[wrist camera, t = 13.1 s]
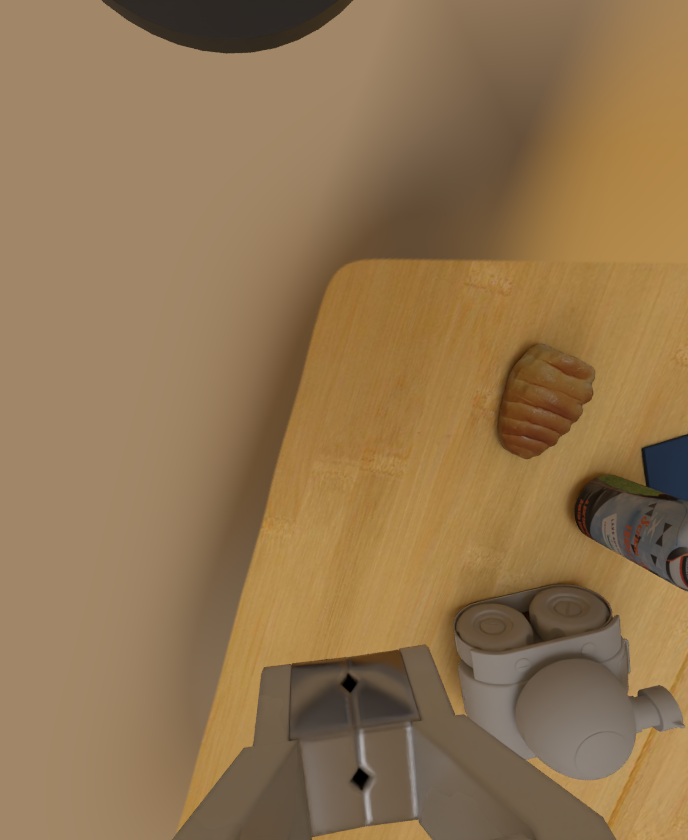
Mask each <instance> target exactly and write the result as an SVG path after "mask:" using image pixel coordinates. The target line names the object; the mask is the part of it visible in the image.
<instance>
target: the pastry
mask: <svg viewBox="0 0 688 840" xmlns="http://www.w3.org/2000/svg"><path fill="white" fill-rule="evenodd" d="M594 379H595V369H594V368H593V367H592V366H589V365H588V364H586V363H585V362H583V361H581V360H579V359H578V358H575V357H573V356H569V355H565V354H564V353H562V352H559V351H556V350H554V349H552V348H551V347H548V346H546V345H544V344H536V345H534V346H533V347H532V348H530V349H529V350H528V351H527V352H526V353H525V354H524V355H523V356H522V357H521V358H520V359H519V361H518V362H517V363H516V364H515V365H514V367H513V370H512V371H511V374H510V375H509V378H508V382H507V385H506V388H505V393H504V396H503V401H502V407H501V411H500V416H499V423H498V431H499V439H500V442H501V444H502V446H503V447H504V448H505V449H506V450H508V451H509V452H511V453H513V454H516V455H518V456H520V457H522V458H524V459H530V458H532V457H534V456H538V455H540V454H541V453H543V452H544V451H545V450H546V449H548V448H549V447H551V446H554V445H555V444H556V443H557V441H558V439H559V437H560V436H562V435H564V434H565V433H567V432H569V430H570V427H571V425H572V423H574V422H576V421H577V420H578V419H579V417H580V416H581V414H582V412H583V408H582V405H583V404H585V403H587V402H589V401H590V400H591V399H592V396H593V388H592V382H593V381H594Z"/></svg>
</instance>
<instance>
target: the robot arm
mask: <svg viewBox="0 0 688 840" xmlns="http://www.w3.org/2000/svg"><path fill="white" fill-rule="evenodd" d="M418 819H419V823H420V825H421V826H422V827H423V828H424V830H425V831H426V832H427V833H428V835H429V836H430V837H431V838H432V840H616V838H615V836H614V835H613V833H612V832H611V830H610V828H609V827H608V825H607V823H606V822H605V820H604V818H603V817H602V816H600V815H599V814H598V813H596V812H595V811H594V810H592V809H591V808H590V807H588V806H587V805H586V804H584V803H583V802H582V801H580V800H579V799H577V798H576V797H575V796H573V795H572V794H571V793H569V792H568V791H567V790H565V789H564V788H563V787H561V786H560V785H559V784H557V783H556V782H555V781H553V780H552V779H550V778H549V777H548V776H546V775H545V774H544V773H542V772H541V771H540V770H538V769H537V768H536V767H534V766H533V765H532V764H530V763H529V762H528V761H526V760H525V759H523V758H522V757H521V756H519V755H518V754H517V753H515V752H514V751H513V750H511V749H510V748H509V747H507V746H506V745H505V744H503V743H502V742H501V741H499V740H498V739H496V738H495V737H494V736H492V735H491V734H490V733H488V732H487V731H486V730H484V729H483V728H482V727H480V726H479V725H478V724H476V723H475V722H474V721H472V720H471V719H469V718H468V717H467V716H465V715H464V714H463V715H456V716H455V713H454V711H453V708H452V706H451V703H450V701H449V698H448V696H447V693H446V691H445V688H444V686H443V683H442V680H441V678H440V675H439V673H438V670H437V668H436V665H435V663H434V660H433V658H432V655H431V653H430V650H429V648H428V647H427V646H426V645H425V644H424V645H418V646H412V647H406V648H400V649H399V650H393V651H386V652H379V653H372V654H365V655H359V656H352V657H343V658H334V659H326V660H317V661H309V662H300V663H292V665H291V664H286V665H278V666H270V667H264V669H263V671H262V673H261V682H260V690H259V699H258V708H257V716H256V725H255V733H254V742H253V746H252V747H246V748H244V749H243V750H242V751H241V752H240V754H239V755H238V756H237V757H236V759H235V760H234V761H233V763H232V764H231V765H230V766H229V768H228V769H227V770H226V771H225V773H224V774H223V775H222V777H221V778H220V779H219V780H218V782H217V783H216V784H215V786H214V787H213V788H212V789H211V791H210V792H209V793H208V794H207V796H206V797H205V798H204V800H203V801H202V802H201V803H200V805H199V806H198V807H197V808H196V810H195V811H194V812H193V814H192V815H191V816H190V817H189V819H188V820H187V821H186V822H185V824H184V825H183V826H182V828H181V829H180V830H179V831H178V833H177V834H176V835H175V837H174V838H173V839H172V840H312V837H315V836H320V835H325V834H330V833H335V832H340V831H345V830H350V829H355V828H360V827H365V826H372V825H380V824H387V823H395V822H402V821H410V820H418Z"/></svg>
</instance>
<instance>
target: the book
mask: <svg viewBox="0 0 688 840" xmlns="http://www.w3.org/2000/svg"><path fill="white" fill-rule="evenodd" d="M642 454H643V461H644V468H645V476H646V483H647V487H649V488H651V489H654V490H657V491H660V492H662V493H665V494H668V495H671V496H674V497H676V498H679V499H682V500H685V501H687V502H688V434H687V435H684V436H681V437H677V438H674V439H671V440H667V441H664V442H661V443H657V444H654V445H651V446H647V447H644V448H642Z"/></svg>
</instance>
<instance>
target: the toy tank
mask: <svg viewBox="0 0 688 840" xmlns="http://www.w3.org/2000/svg"><path fill="white" fill-rule="evenodd" d="M527 611H529V615H530V622H531V625H532V627H531V625H530V623H529V622H528V620H527V619H526V618H525V617H524V615H523V614H522V613H523V612H527ZM453 629H454V635H455V642H456V649H457V652H458V654H459V656H460V657H461V661H460V662H459V664H458V672H459V678H460V684H461V691H462V697H463V703H464V709H465V712H466V714H467V717H468V718H469V719H471V720H472V721H474V722H475V723H476V724H478V725H479V726H480V727H482V728H483V729H484V730H486V731H487V732H488V733H490V734H491V735H492V736H494V737H495V738H496V739H498V740H499V741H501V742H502V743H503V744H505V745H506V746H507V747H509V748H510V749H511V750H513V751H514V752H515V753H517V754H518V755H519V756H521V757H522V758H523V759H525V760H527V759H531V758H535V757H538V758H539V759H540V760H541V761H542V762H543V763H545V764H546V765H547V766H549V767H550V768H552V769H553V770H555V771H557V772H559V773H561V774H563V775H565V776H568V777H571V778H575V779H581V780H596V779H601V778H604V777H607V776H609V775H611V774H613V773H615V772H616V771H618V770H619V769H620V768H621V767H622V766H623V765H624V764H625V763H626V761H627V760H628V758H629V756H630V755H631V752H632V750H633V747H634V743H635V738H636V733H639V732H641V731H642V729H646V728H650V727H654V728H655V729H656V730H658V731H660V732H661V731H666V730H670V729H674V728H678V727H680V728H685V725H684V724H683V717H682V713H681V710H680V708H679V706H678V704H677V702H676V700H675V699H674V697H673V696H672V695H671V693H670V692H669V691H668V690H667V689H666V688H664V687H663V686H660V685H658V686H654V687H650V688H645V689H641V690H639V691H638V697H635V698H634V697H633V696H628V695H627V693H628V688H629V686H628V674H629V673H630V657H629V642H628V640H627V639H623V638H622V636H621V631H620V617H619V615H616V616H614V618H613V617H612V609H611V607H610V605H609V603H608V602H607V601H606V600H605V599H604V598H603V597H602V596H601V595H599V594H598V593H596V592H594V591H592V590H589V589H587V588H584V587H580V586H575V585H568V584H557V585H550V586H545V587H541V588H536V589H532V590H528V591H523V592H519V593H515V594H510V595H506V596H502V597H497V598H493V599H489V600H484V601H480V602H476V603H473V604H470V605H468V606H466V607H464V608H463V609H462V610H460V611H459V612H458V614H457V615H456V616H455V619H454V622H453ZM624 642H625V643H624ZM625 645H626V646H625Z"/></svg>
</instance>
